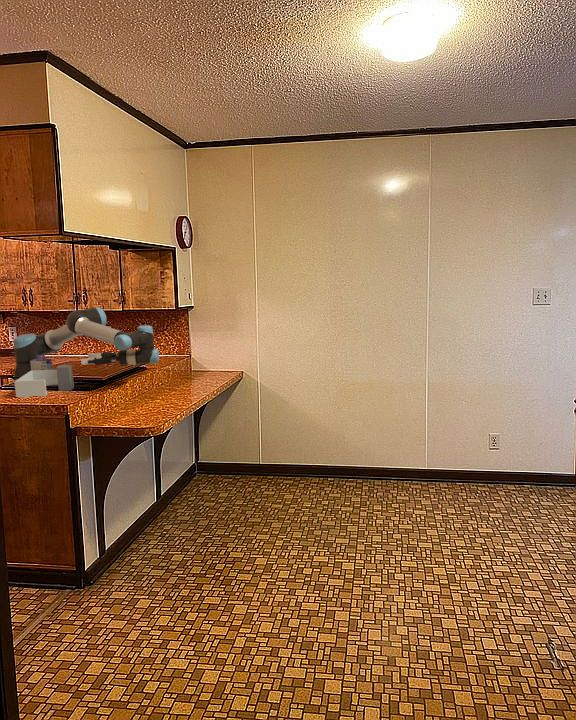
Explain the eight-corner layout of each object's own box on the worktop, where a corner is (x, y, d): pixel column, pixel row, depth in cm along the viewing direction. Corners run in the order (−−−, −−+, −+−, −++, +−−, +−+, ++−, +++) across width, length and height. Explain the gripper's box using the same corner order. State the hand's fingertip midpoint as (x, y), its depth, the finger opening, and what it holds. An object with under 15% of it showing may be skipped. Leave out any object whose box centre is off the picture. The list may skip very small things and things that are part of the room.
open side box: (32, 385, 328) (30, 370, 326) (60, 384, 329) (58, 369, 327) (16, 397, 304) (14, 381, 303) (46, 396, 305) (44, 380, 304)
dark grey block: (62, 388, 320) (59, 365, 318) (74, 387, 321) (71, 364, 318) (58, 391, 314) (56, 367, 312) (71, 390, 315) (68, 367, 312)
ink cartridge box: (54, 380, 338) (51, 354, 335) (48, 383, 332) (45, 356, 329) (38, 380, 340) (35, 354, 337) (32, 383, 334) (28, 356, 331)
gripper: (123, 370, 305) (79, 371, 303) (132, 359, 329) (91, 360, 328) (122, 355, 303) (77, 356, 302) (131, 345, 328) (90, 346, 326)
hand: (84, 358), depth 315 cm, fingers open, 13 cm apart
